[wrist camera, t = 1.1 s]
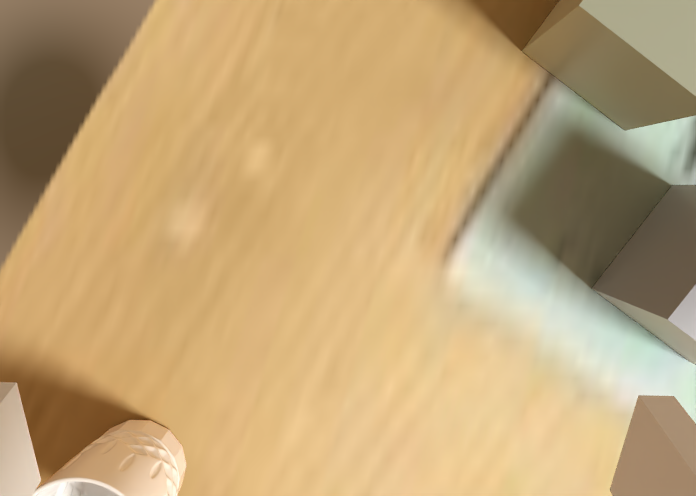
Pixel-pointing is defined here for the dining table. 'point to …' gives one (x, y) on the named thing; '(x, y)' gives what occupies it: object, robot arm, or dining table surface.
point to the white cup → (123, 464)
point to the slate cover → (660, 272)
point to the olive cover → (623, 56)
